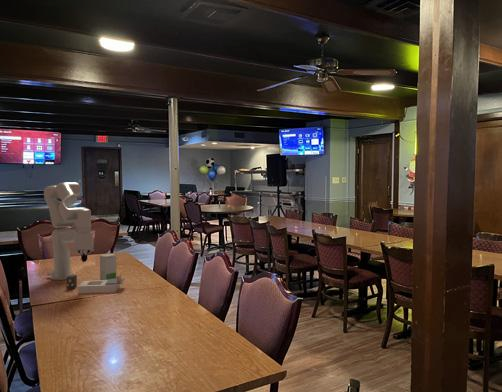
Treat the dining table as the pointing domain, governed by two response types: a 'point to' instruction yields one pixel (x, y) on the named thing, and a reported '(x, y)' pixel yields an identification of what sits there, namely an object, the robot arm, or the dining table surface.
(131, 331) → the dining table surface
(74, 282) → the plug
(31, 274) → the dining table surface
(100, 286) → the socket block
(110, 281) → the shutter
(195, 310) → the dining table surface
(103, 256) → the skincare box
